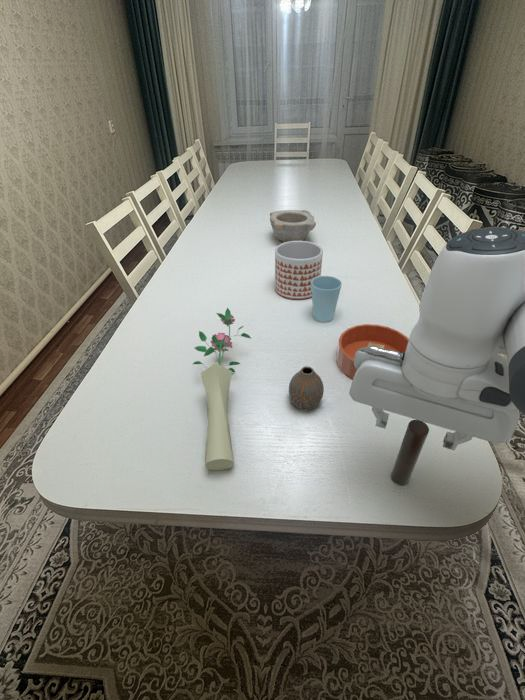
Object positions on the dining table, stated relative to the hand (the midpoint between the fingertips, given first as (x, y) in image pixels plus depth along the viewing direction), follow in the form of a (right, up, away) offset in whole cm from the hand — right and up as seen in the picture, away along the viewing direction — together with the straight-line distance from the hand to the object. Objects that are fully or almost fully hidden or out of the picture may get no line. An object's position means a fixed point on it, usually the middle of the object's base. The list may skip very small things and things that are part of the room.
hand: (413, 434), depth 52 cm
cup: (-6, +21, +46) cm, 51 cm away
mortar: (-11, +56, +90) cm, 106 cm away
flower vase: (-31, +2, +22) cm, 38 cm away
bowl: (+3, +10, +30) cm, 32 cm away
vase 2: (-11, +31, +58) cm, 67 cm away
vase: (-13, +2, +21) cm, 25 cm away
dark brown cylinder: (+1, -9, +7) cm, 11 cm away
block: (+3, +10, +30) cm, 32 cm away
